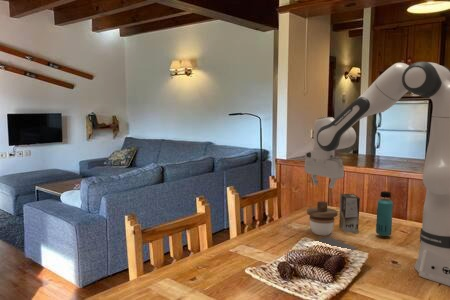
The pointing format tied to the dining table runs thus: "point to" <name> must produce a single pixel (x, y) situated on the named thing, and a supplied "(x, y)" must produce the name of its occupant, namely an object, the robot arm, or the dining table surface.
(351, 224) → the coffee box
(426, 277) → the robot arm
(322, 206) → the lid
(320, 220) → the lidded jar
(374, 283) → the dining table surface
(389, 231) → the beverage bottle
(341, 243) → the mat
